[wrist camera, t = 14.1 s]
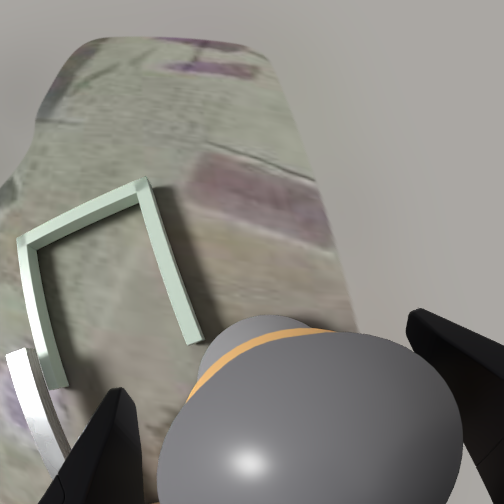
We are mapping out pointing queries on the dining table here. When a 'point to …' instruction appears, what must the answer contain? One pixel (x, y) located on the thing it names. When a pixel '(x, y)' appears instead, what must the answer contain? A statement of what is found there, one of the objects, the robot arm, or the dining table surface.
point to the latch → (38, 409)
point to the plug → (311, 422)
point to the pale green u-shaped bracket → (74, 221)
